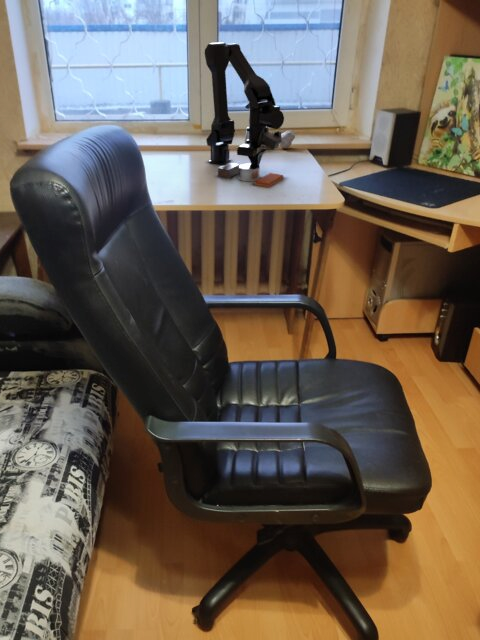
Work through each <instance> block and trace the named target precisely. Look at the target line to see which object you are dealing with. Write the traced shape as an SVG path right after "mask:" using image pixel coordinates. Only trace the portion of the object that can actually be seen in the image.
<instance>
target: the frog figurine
mask: <svg viewBox="0 0 480 640" xmlns="http://www.w3.org/2000/svg"><path fill="white" fill-rule="evenodd" d="M281 138H282V139H281V140H282V142H280V144H279V147H281V148H282V149H285V150H286V149H288V148H290V147H291V146H292V144H293V141H294V140H295V138H296V133H294V132H293V131H292V130H291V129H289V130H288V129H287V130H286V131H285V132H283V133H281Z"/></svg>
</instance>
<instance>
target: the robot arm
mask: <svg viewBox="0 0 480 640" xmlns="http://www.w3.org/2000/svg"><path fill="white" fill-rule="evenodd" d="M204 59H205V64H206V67H207V68H208V70H209V71H210V74H211V85H212V97H213V99H212V100H213V110H214V111H213V112H214V117H213V120H212V123H211V125H210V126H211V127H210V133H209V135H208V136H207V138H206V139H205V140H206V145H207V146H208V147H210V159H209V160H208V163H211V164H217V165H225V163H226V164H227V163H229V162H230V161H231V158H230V149H229V146H230V145H233V140H234V137H235V133H236V129H235V120H234V119H231V118H230V116H229V107H228V92H227V90H228V89H227V75H226V70H227V68H228V66H229V63H230V65H231V66H232V68H233V70H234V71H235V72H236V74H237V76H238V77H239V79H240V80H241V82H242V84H243V92H244V95H245V97H246V100H247V101H248V103H247V104H246V105H245V109H247V110H249V111H248V112H249V115H248V126H247V127H246V130H247V131H249V139H248V140H246V144H245V143H243V144H240V145H239V146H238V147H237V148H236V156H242V157H243V156H244V157H248V159H249V161H250V164H256V165H259V166H260V164H261V161H262V158H263V155H264V154H265V153H266V152H267V151H268V150H272V151H275V150H276V149H279V147H280V142H282V140H281V139H282V138H281V134H282V132H281V131H279V130H278V129H280V128H281V127H282V126H283V124H284V121H285V116H284V113H283V111H282V110H281V106H279V105H277V104H276V101H275V98H274V95H273V93H272V91H271V90H272V89H271V86H270V84H269V83H268V82H267V81H266V80H265V79H264V78H263V77H261V76H260V75H258V74H257V73H256V71H255V70H254V69H253V67H252V66H251V64H250V62H249V61H248V59H247V58H246V56H245V55H244V53H243V52H242V49H241V46H240V44H238V43H226V42H211V43H208V44H207V45H206V47H205V49H204ZM269 128H270V129H273V130H276V131H275V132H270V130H269ZM248 144H250V145H248ZM264 145H265V146H264Z"/></svg>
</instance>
